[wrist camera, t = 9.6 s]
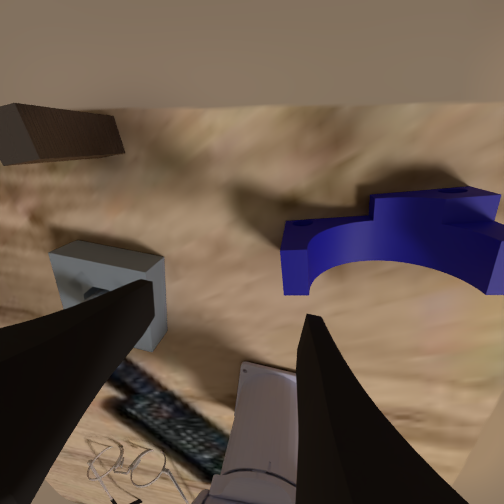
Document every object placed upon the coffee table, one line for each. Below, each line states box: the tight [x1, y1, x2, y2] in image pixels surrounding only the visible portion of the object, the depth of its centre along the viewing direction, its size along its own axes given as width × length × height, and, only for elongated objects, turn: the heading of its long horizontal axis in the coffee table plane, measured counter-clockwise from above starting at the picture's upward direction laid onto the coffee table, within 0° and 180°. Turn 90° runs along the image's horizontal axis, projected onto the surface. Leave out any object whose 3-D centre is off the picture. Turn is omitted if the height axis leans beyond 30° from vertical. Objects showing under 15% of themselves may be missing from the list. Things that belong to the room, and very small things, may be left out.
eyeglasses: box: [87, 446, 189, 504], centre depth 40 cm, size 16×19×5 cm
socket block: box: [48, 240, 167, 352], centre depth 24 cm, size 9×9×3 cm
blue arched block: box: [280, 186, 504, 295], centre depth 15 cm, size 12×4×6 cm, turn 97°
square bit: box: [0, 103, 125, 166], centre depth 16 cm, size 3×3×7 cm
